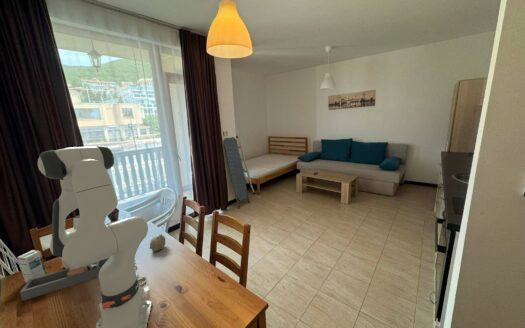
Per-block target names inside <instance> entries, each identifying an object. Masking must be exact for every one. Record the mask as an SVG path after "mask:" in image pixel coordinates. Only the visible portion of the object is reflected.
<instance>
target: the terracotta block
mask: <svg viewBox="0 0 525 328" xmlns="http://www.w3.org/2000/svg"><path fill="white" fill-rule="evenodd" d="M86 271H88V268H87V266H84V267H81V268H78V269H76V268H70V269H69V271H68V273H67V276H68V277H69V276H72V275H76V274H79V273H82V272H86Z"/></svg>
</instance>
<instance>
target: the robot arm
mask: <svg viewBox="0 0 525 328" xmlns="http://www.w3.org/2000/svg"><path fill="white" fill-rule="evenodd" d="M114 165H115V156H114V153H113V152H112V150H111V148H109V147H108V146H106V145H105V146H104V145H96V146H78V147H77V146H73V147H71V146H70V147H65V148H61V149H56V150H54V149H50V150H47V151H42V152H41V153H40V154H39V156H38V159H37V167H38V170H39V171H40V173H41V174H42V175H44V177H45V178H47V179H51V180H59V182H60V188H61V194H60V195H59V197H58V198H57V199H56V200H54V202H53V205H52V216H51V239H50V243H49V249H50V253H51V254H52V255H53V256H55V257H58V258H59V257H60V258H61V257H63V260H64V262H65V264H66V267H67V268H76V269H78V268H81V267H84V266H89V267H91V270H93V269H96V268H99V262H100V260H103V259H105V258H108V257H110V258H109V259H108V260H107V261H106V263H105V264H104V265H103V266H102V267H101V269H100V271H99V275H98V277H97V278H98V281H99V285H100V303H99V304H98V305H99V306H98V307H99V309H100V318H99V319H98V321H97V322H96V324H95V328H146V326H147V322H148V323H149V321H148V318H149V319H150V317H149V315H150V316H151V312H150V310H151V311H152V308H151V306H153V302H152V300H148V299H147V297H146V291H145V288H144V287H142V286H140V284H139V282H140V281H139V279H138V276H137V275H136V274H137V273H136V269H135V259H136V254H137V251H138V249H139V247H140V246H141V243H142V242H143V240H144V239H145V238H146V237H147V235H148V232H149V226H148V225H149V224H148V222H147V220H145V218H143V217H142V216H140V215H135V216H129V217H124V218H121V219H119V220H116V221H113V222H110V223H108V224H106V223H105V222H106V218H107V217H108V216H109V215H110V214H111V213H112V212H113V211H115V209H117V207H118V203H119V200H118V197H117V194H116V191H115V188H114V184H113V181H112V178H111V176H110V174H109V172H108V170H110V169H111V168H112V167H114ZM77 209H78V211H79V212H78V213H79V215H76V216H75V217H74V218H72V219H73V221H72V222H73V228H74V230H71V231H67V230H66V219H67V217H68V216H69V214H71V213H72V212H74V211H75V210H77ZM66 231H67V232H66ZM96 262H97V264H94V263H96ZM93 264H94V265H93ZM147 306H149V307H147ZM144 322H145V323H144ZM147 327H148V326H147Z"/></svg>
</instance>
